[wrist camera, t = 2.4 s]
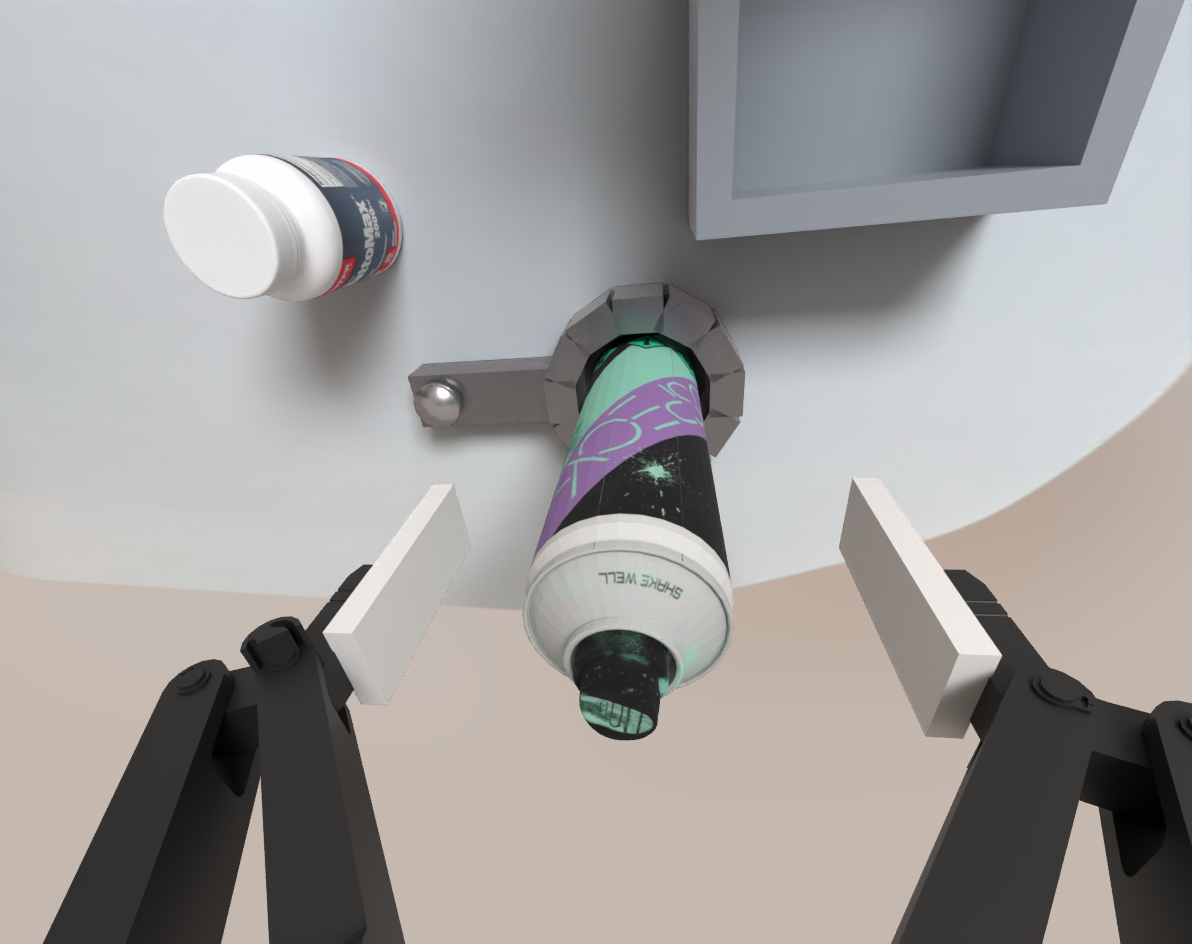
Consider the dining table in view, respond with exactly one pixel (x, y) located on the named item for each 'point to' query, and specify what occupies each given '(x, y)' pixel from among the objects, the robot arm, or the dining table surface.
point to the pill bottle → (283, 226)
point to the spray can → (633, 543)
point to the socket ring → (559, 380)
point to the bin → (910, 108)
